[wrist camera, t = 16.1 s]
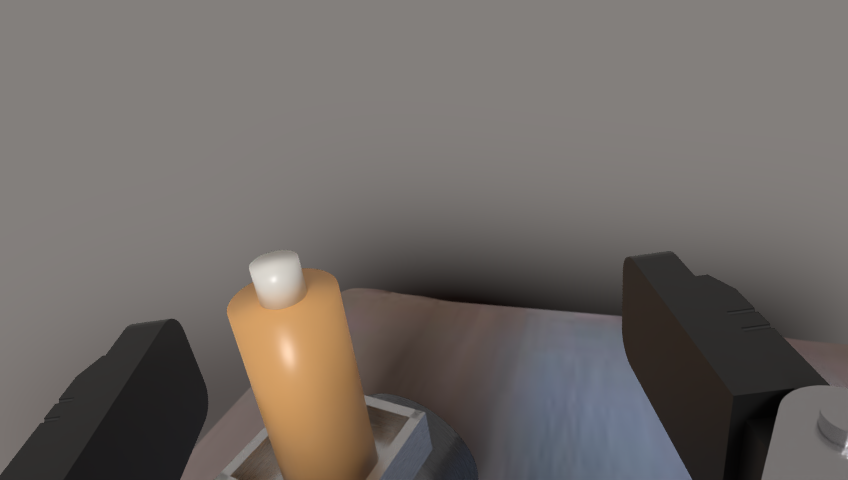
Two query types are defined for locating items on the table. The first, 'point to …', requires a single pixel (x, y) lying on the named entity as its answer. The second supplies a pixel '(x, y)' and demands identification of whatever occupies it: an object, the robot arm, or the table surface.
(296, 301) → the orange capped bottle
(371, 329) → the table surface
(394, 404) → the motor
